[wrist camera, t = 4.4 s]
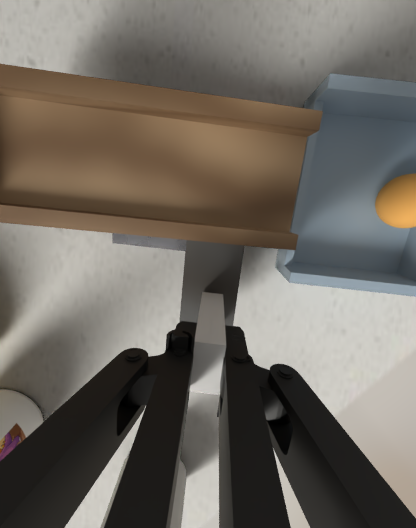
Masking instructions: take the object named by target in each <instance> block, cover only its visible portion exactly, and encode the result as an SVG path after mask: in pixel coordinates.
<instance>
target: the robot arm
mask: <svg viewBox="0 0 416 528" xmlns="http://www.w3.org/2000/svg"><path fill="white" fill-rule="evenodd" d="M189 392H197V393H206V394H215V395H219V394H220V399H219V406H218V413H217V417H219V528H291V527H290V523H289V519H288V514H287V509H286V505H285V500H284V496H283V491H282V487H281V482H280V478H279V473H278V469H277V465H276V460H275V456H274V451H273V448H274V450H275V453H276V455H277V457H278V459H279V461H280V463H281V466H282V468H283V470H284V472H285V474H286V476H287V478H288V481H289V483H290V485H291V487H292V489H293V491H294V493H295V496H296V498H297V500H298V502H299V504H300V506H301V508H302V510H303V513H304V515H305V517H306V519H307V521H308V523H309V525H310V528H416V518H415V517H414V516H413V515H412V513H411V512H410V511H409V510H408V508H407V507H406V506H405V505H404V504H403V502H402V501H401V500H400V499H399V497H398V496H397V495H396V493H395V492H394V491H393V490H392V489H391V487H390V486H389V485H388V484H387V482H386V481H385V480H384V479H383V477H382V476H381V475H380V474H379V473H378V471H377V470H376V469H375V468H374V467H373V465H372V464H371V463H370V461H369V460H368V459H367V458H366V456H365V455H364V454H363V453H362V451H361V450H360V449H359V448H358V446H357V445H356V444H355V443H354V441H353V440H352V439H351V438H350V437H349V435H348V434H347V433H346V432H345V430H344V429H343V428H342V426H341V425H340V424H339V423H338V422H337V420H336V419H335V418H334V416H333V415H332V414H331V413H330V412H329V410H328V409H327V408H326V407H325V405H324V404H323V403H322V402H321V400H320V399H319V398H318V397H317V395H316V394H315V393H314V392H313V390H312V389H311V388H310V387H309V385H308V384H307V383H306V382H305V380H304V379H303V378H302V377H301V376H300V374H299V373H298V372H297V371H296V370H295V369H293V368H292V367H290V366H287V365H284V364H275V365H272V366H271V367H270V370H267V369H264V368H261V367H259V366H257V365H255V364H254V362H253V359H252V357H251V356H250V355H249V354H248V350H247V346H246V342H245V336H244V331H243V330H242V329H241V328H240V327H236V326H227V325H225V317H224V301H223V294H216V293H208V292H202V298H201V304H200V310H199V316H198V322H197V323H196V322H187V321H181V322H180V323H178V324H177V326H176V329H175V330H172V331H170V332H169V333H168V334H167V339H166V351H165V353H164V354H161V355H158V356H151V357H148V353H147V352H146V351H145V350H143V349H140V348H130V349H127V350H124V351H123V352H121V353H120V354H119V355H117V356H116V357H115V358H114V359H113V360H112V361H111V362H110V363H109V364H107V365H106V366H105V367H104V368H103V369H102V370H101V371H100V372H99V373H98V374H96V375H95V376H94V377H93V378H92V379H91V380H90V381H89V382H88V383H86V384H85V385H84V386H83V387H82V388H81V389H80V390H79V391H78V392H76V393H75V394H74V395H73V396H72V397H71V398H70V399H69V400H68V401H66V402H65V403H64V404H63V405H62V406H61V407H60V408H59V409H58V410H56V411H55V412H54V413H53V414H52V415H51V416H50V417H49V418H48V419H46V420H45V421H44V422H43V423H42V424H41V425H40V426H39V427H38V428H36V429H35V430H34V431H33V432H32V433H31V434H30V435H29V436H28V437H26V438H25V439H24V440H23V441H22V442H21V443H20V444H19V445H18V446H16V447H15V448H14V449H13V450H12V451H11V452H10V453H9V454H8V455H6V456H5V457H4V458H3V459H2V460H1V461H0V528H64V527H65V526H66V524H67V523H68V521H69V520H70V518H71V517H72V515H73V514H74V513H75V511H76V510H77V508H78V507H79V505H80V504H81V502H82V501H83V499H84V498H85V496H86V495H87V493H88V492H89V490H90V489H91V487H92V486H93V484H94V483H95V481H96V480H97V479H98V477H99V476H100V474H101V473H102V471H103V470H104V468H105V467H106V465H107V464H108V462H109V461H110V459H111V458H112V456H113V455H114V453H115V452H116V450H117V449H118V447H119V446H120V444H121V443H122V442H123V440H124V439H125V437H126V436H127V434H128V433H129V431H130V430H131V428H132V427H133V425H134V424H135V422H136V421H137V419H138V418H139V416H140V415H141V413H142V412H143V410H144V408H145V406H146V408H145V411H144V414H143V417H142V420H141V423H140V425H139V428H138V431H137V434H136V437H135V440H134V443H133V446H132V448H131V451H130V454H129V457H128V460H127V463H126V466H125V469H124V471H123V474H122V477H121V480H120V483H119V486H118V489H117V491H116V494H115V497H114V500H113V503H112V506H111V509H110V512H109V514H108V517H107V520H106V523H105V526H104V528H170V525H171V518H172V511H173V504H174V497H175V490H176V483H177V476H178V469H179V462H180V455H181V449H182V442H183V435H184V428H185V421H186V414H187V407H188V400H189ZM272 446H273V447H272Z"/></svg>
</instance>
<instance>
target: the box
mask: <svg viewBox="0 0 416 528" xmlns="http://www.w3.org/2000/svg"><path fill="white" fill-rule="evenodd" d="M304 108H305V109H312V110H319V111H323V113H322V118H321V124H320V129H319V131H317V132H316V133H314V134H312V135H310V136H308V137H307V141H306V147H305V152H304V157H303V163H302V168H301V173H300V179H299V184H298V189H297V195H296V200H295V205H294V211H293V216H292V221H291V227H290V232H292V233H295V234H298V240H297V245H296V250H287V249H278V254H277V260H276V266H275V267H276V269H277V270H278V271H279V272H280V273H281V274H282V275H283V276H284V277H285V279H286V280H287V281H288V282H289V283H298V284H307V285H316V286H325V287H334V288H343V289H352V290H361V291H370V292H379V293H388V294H397V295H406V296H415V297H416V227H413V228H396V227H392V226H390V225H388V224H386V223H384V222H383V221H382V220H381V219H380V218H379V216H378V215H377V213H376V209H375V201H376V197H377V195H378V193H379V191H380V190H381V189H382V187H383V186H384V185H385V184H387V183H388V182H389V181H391V180H392V179H394V178H396V177H399V176H401V175H405V174H414V173H416V82H407V81H398V80H388V79H379V78H369V77H360V76H350V75H341V74H332V73H330V74H329V75H328V77H327V78H326V79H325V80H324V81H323V82H322V83H321V84H320V86H319V87H318V88H317V89H316V90H315V91H314V92H313V93H312V95H311V96H310V97H309V98H308V99H307V100H306V101H305V104H304Z"/></svg>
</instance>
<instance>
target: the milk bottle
mask: <svg viewBox="0 0 416 528" xmlns="http://www.w3.org/2000/svg"><path fill="white" fill-rule="evenodd" d="M42 423H43V417H42V414H41V411H40V409H39V408H38V406H37V405H36V404H35V403H34V402H33V401H32V400H31V399H30V398H28V397H27V396H25V395H23V394H22V393H19V392H16V391H13V390H3V389H1V390H0V461H1V460H2V459H3V458H4V457H5V456H6V455H8V454H9V453H10V452H11V451H12V450H13V449H14V448H15V447H16V446H18V445H19V444H20V443H21V442H22V441H23V440H24V439H25V438H26V437H28V436H29V435H30V434H31V433H32V432H33V431H34V430H35V429H36V428H38V427H39V426H40V425H41V424H42Z"/></svg>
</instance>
